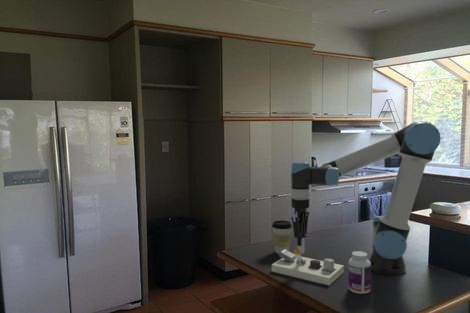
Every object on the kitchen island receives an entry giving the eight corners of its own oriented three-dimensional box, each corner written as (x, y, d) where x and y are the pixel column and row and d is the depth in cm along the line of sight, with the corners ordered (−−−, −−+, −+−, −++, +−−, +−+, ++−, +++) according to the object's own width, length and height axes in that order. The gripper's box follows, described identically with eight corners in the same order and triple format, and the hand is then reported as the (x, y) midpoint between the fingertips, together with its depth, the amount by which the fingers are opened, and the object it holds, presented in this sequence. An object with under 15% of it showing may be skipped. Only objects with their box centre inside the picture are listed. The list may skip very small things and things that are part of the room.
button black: (321, 270, 162) (321, 261, 161) (317, 273, 158) (317, 264, 158) (312, 268, 164) (312, 259, 164) (308, 271, 161) (308, 262, 160)
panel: (343, 272, 162) (343, 261, 162) (329, 285, 149) (329, 274, 149) (289, 260, 177) (288, 250, 177) (271, 271, 164) (271, 261, 164)
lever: (304, 260, 165) (299, 248, 160) (302, 265, 163) (297, 253, 158) (299, 259, 166) (293, 247, 161) (297, 263, 165) (291, 252, 160)
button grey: (335, 269, 158) (335, 259, 158) (331, 272, 155) (331, 262, 154) (325, 267, 160) (325, 257, 160) (321, 270, 157) (322, 260, 157)
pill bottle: (365, 285, 149) (366, 249, 147) (374, 294, 141) (374, 256, 139) (345, 286, 148) (345, 250, 147) (352, 295, 140) (352, 257, 139)
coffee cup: (291, 256, 183) (291, 225, 181) (271, 255, 185) (270, 224, 183) (292, 249, 192) (292, 220, 191) (273, 248, 194) (272, 219, 193)
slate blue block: (295, 259, 169) (296, 254, 168) (290, 262, 165) (291, 257, 165) (283, 253, 172) (284, 248, 171) (278, 256, 168) (280, 251, 168)
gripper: (298, 194, 169) (299, 246, 171) (285, 200, 158) (285, 255, 160) (314, 196, 165) (314, 249, 167) (302, 201, 154) (302, 258, 156)
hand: (300, 252), depth 163 cm, fingers closed
